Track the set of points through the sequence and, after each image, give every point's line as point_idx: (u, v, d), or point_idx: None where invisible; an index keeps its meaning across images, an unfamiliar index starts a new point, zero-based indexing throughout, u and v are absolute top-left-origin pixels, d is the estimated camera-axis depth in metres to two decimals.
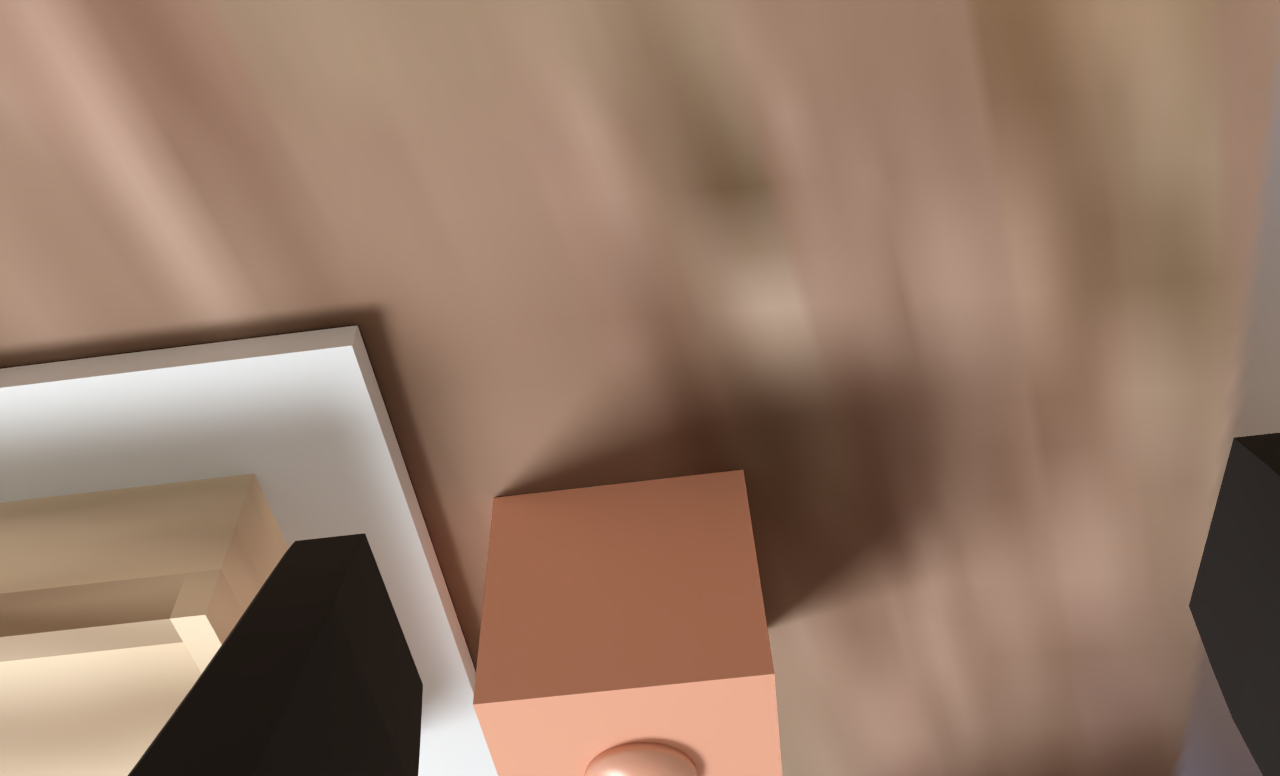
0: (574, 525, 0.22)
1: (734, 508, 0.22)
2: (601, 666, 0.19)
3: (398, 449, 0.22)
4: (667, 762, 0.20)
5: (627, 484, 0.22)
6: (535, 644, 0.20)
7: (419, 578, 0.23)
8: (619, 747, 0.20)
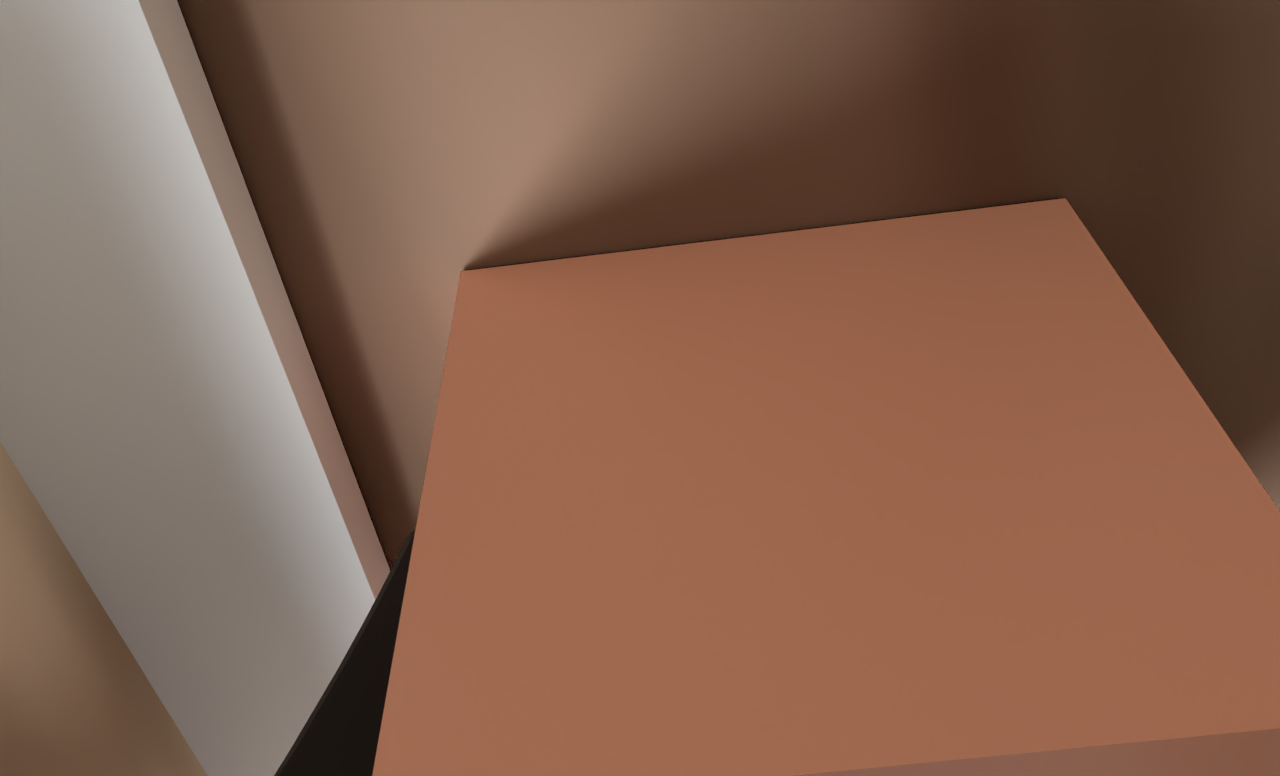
0: (659, 322, 0.09)
1: (1077, 275, 0.08)
2: (791, 685, 0.06)
3: (216, 115, 0.08)
4: None
5: (784, 239, 0.09)
6: (573, 618, 0.06)
7: (290, 466, 0.10)
8: None
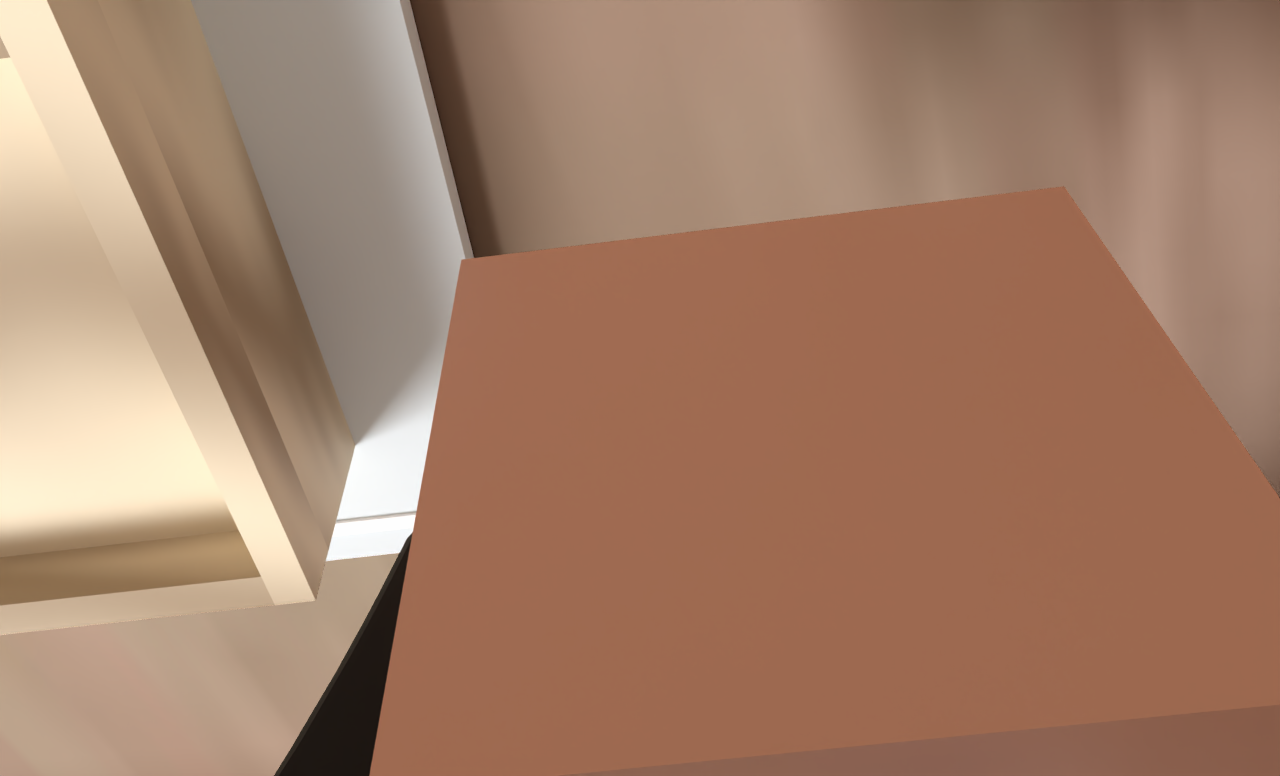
0: (661, 311, 0.09)
1: (1075, 262, 0.08)
2: (791, 664, 0.06)
3: None
4: None
5: (783, 228, 0.09)
6: (574, 601, 0.06)
7: (410, 123, 0.15)
8: None
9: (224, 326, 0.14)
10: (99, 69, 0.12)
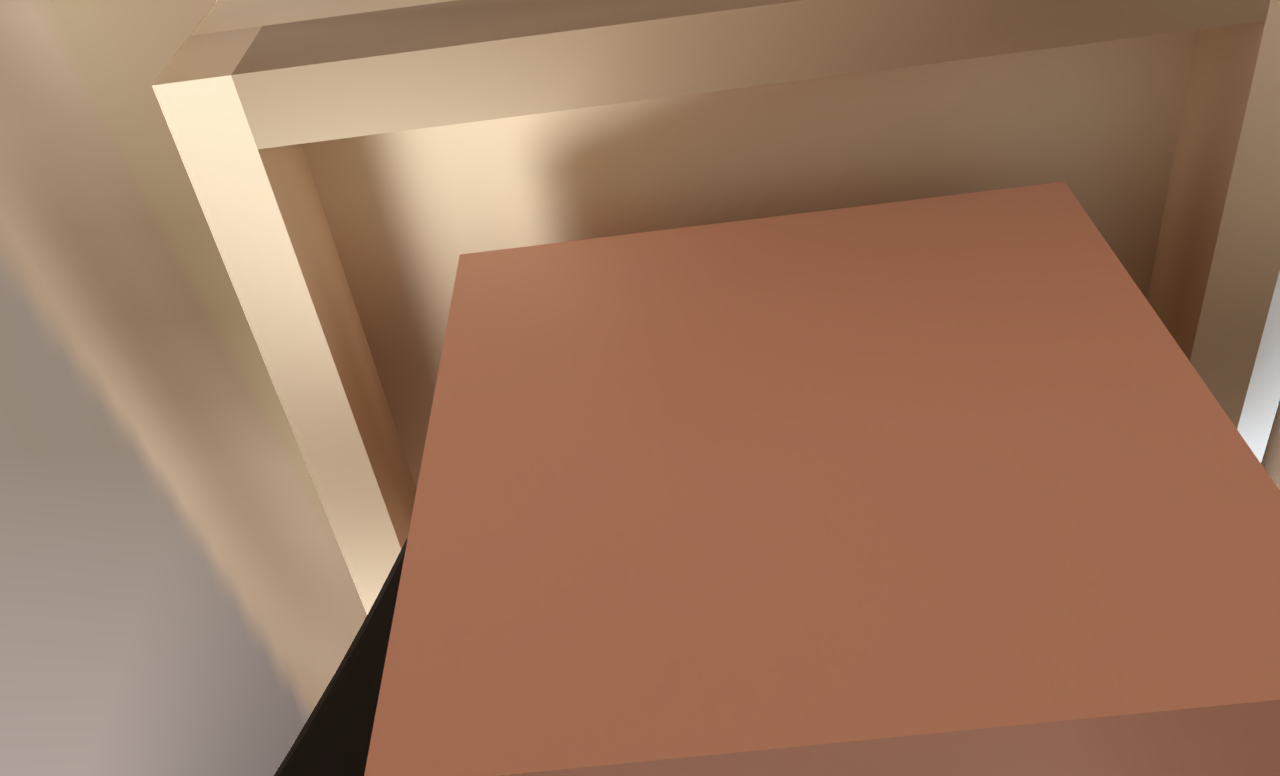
0: (659, 305, 0.09)
1: (1076, 257, 0.08)
2: (790, 660, 0.06)
3: None
4: None
5: (783, 223, 0.09)
6: (572, 593, 0.06)
7: None
8: None
9: None
10: None
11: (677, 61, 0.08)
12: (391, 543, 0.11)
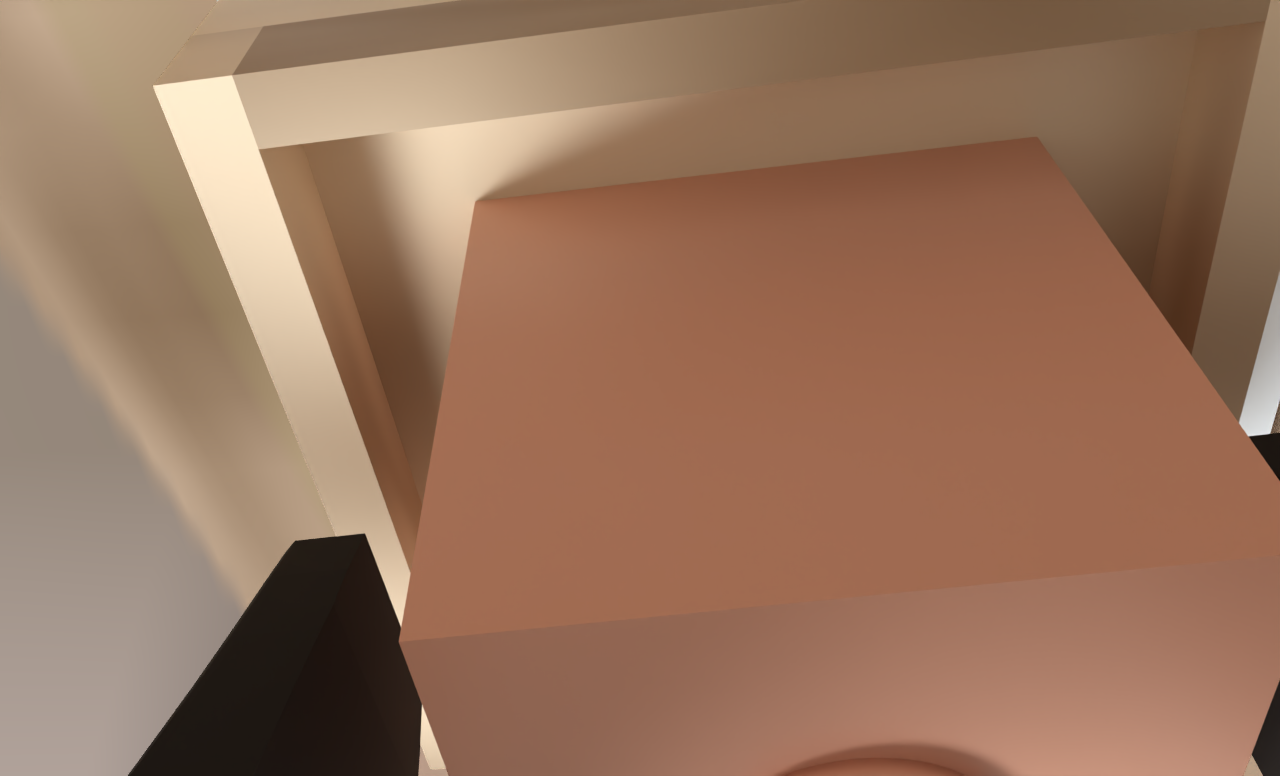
0: (662, 244, 0.09)
1: (1045, 201, 0.09)
2: (778, 535, 0.07)
3: None
4: None
5: (776, 173, 0.10)
6: (583, 485, 0.07)
7: None
8: (812, 771, 0.07)
9: None
10: None
11: (677, 61, 0.08)
12: (392, 543, 0.11)
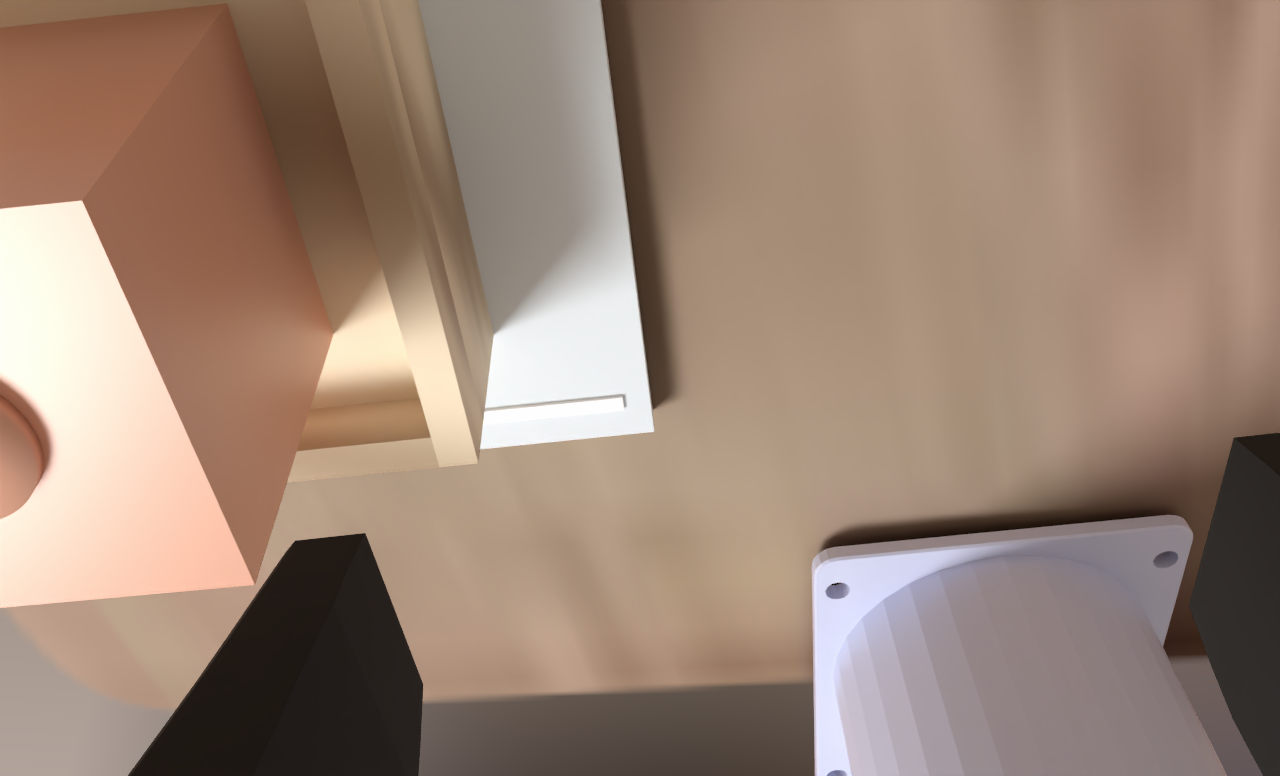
0: None
1: (178, 39, 0.13)
2: None
3: None
4: None
5: (39, 26, 0.14)
6: None
7: (581, 12, 0.17)
8: None
9: (420, 188, 0.15)
10: None
11: None
12: None
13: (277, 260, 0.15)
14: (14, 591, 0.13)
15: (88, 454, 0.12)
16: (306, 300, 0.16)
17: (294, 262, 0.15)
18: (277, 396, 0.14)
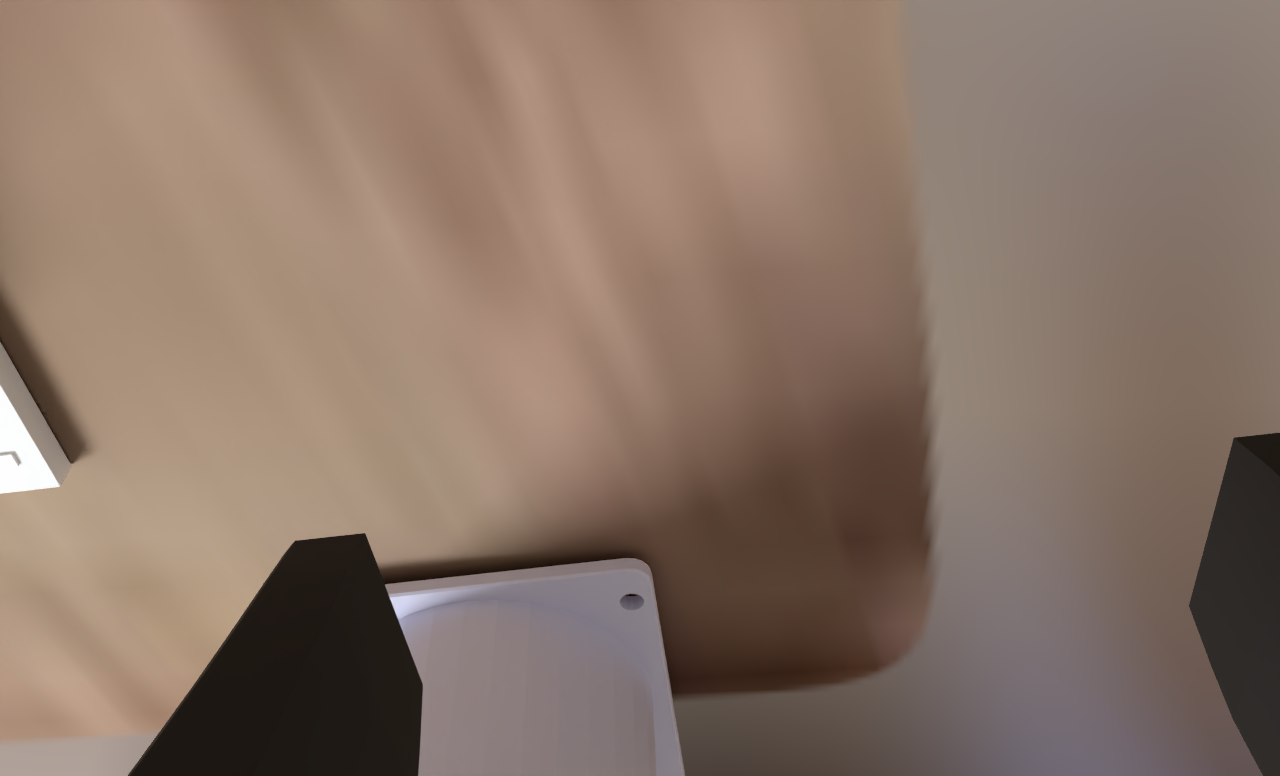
0: None
1: None
2: None
3: None
4: None
5: None
6: None
7: None
8: None
9: None
10: None
11: None
12: None
13: None
14: None
15: None
16: None
17: None
18: None
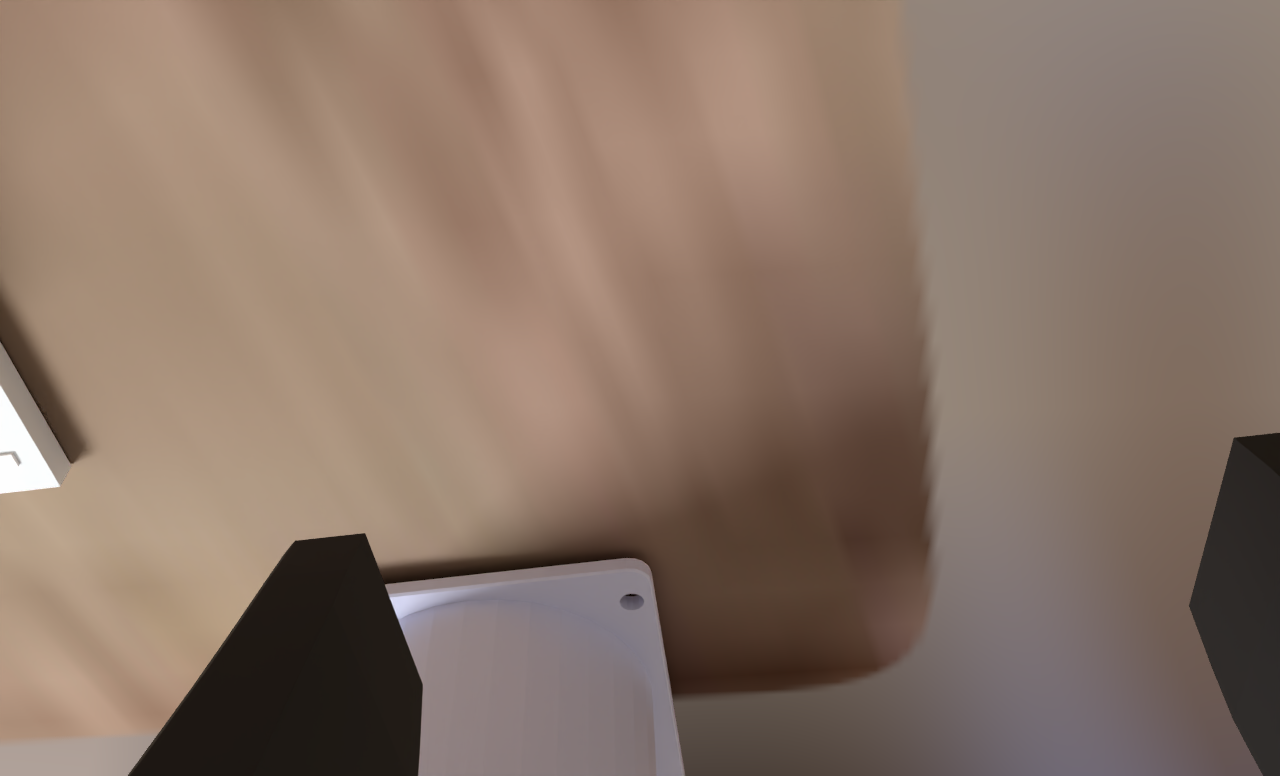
0: None
1: None
2: None
3: None
4: None
5: None
6: None
7: None
8: None
9: None
10: None
11: None
12: None
13: None
14: None
15: None
16: None
17: None
18: None
